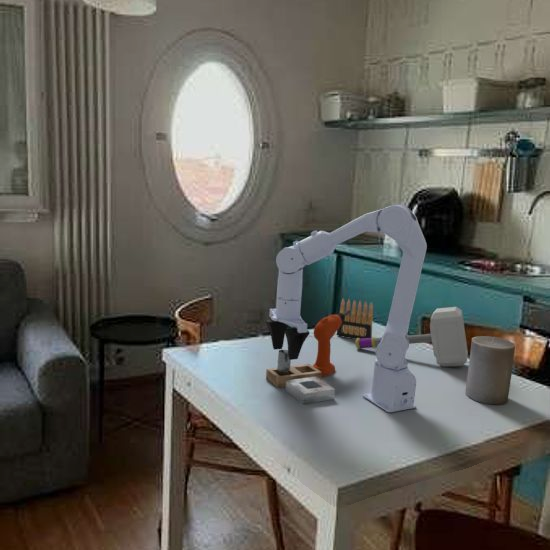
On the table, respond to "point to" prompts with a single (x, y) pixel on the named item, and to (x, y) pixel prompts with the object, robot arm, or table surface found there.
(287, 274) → the robot arm
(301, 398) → the socket block
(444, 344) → the hammer
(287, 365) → the grey metal cylinder
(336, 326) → the toy drill
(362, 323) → the ammunition clip
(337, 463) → the table surface
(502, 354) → the pillar candle
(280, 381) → the rack
